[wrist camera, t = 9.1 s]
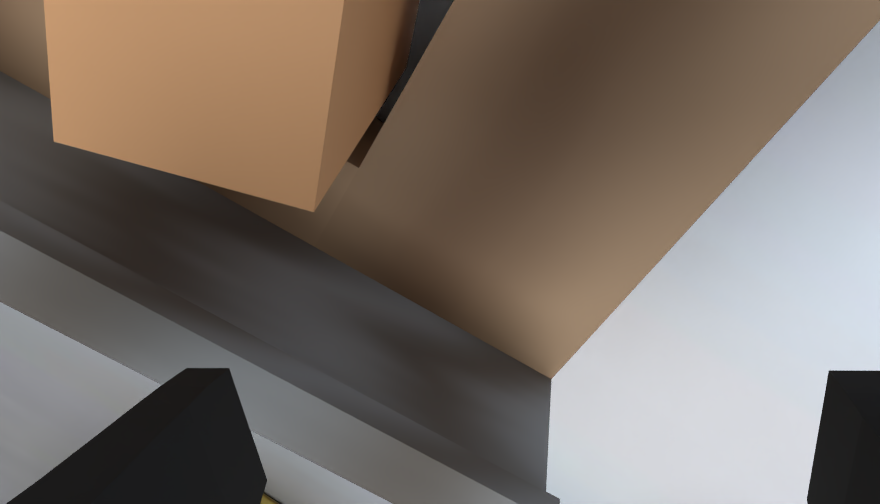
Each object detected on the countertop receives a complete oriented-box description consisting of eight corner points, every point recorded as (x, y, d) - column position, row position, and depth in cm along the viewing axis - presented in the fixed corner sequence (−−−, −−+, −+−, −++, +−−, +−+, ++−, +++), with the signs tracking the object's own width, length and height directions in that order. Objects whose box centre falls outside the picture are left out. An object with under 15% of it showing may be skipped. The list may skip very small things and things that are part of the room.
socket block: (845, -24, 15) (1028, 100, 9) (533, 340, 20) (514, 565, 14) (-33, -633, 12) (-623, -1046, 6) (-108, -22, 18) (-452, 69, 12)
